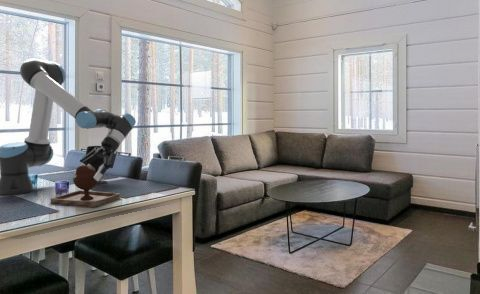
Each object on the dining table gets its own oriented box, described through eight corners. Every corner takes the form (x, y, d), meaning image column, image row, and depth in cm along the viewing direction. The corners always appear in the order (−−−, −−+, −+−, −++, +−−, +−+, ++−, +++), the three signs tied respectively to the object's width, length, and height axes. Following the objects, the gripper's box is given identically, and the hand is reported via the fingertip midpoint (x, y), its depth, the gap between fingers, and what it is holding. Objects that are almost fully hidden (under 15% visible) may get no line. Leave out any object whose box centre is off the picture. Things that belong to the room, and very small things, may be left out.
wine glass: (100, 185, 200) (99, 147, 198) (82, 184, 202) (81, 147, 200) (110, 181, 210) (109, 146, 208) (93, 180, 212) (92, 145, 210)
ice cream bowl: (84, 203, 158) (83, 167, 156) (68, 199, 163) (67, 165, 162) (105, 198, 167) (104, 165, 165) (88, 195, 172) (88, 162, 171)
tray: (50, 203, 160) (50, 198, 159) (79, 194, 177) (79, 190, 177) (94, 207, 153) (94, 202, 153) (120, 198, 171) (120, 193, 170)
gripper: (136, 148, 171) (109, 186, 159) (100, 144, 184) (73, 179, 172) (126, 137, 166) (98, 175, 154) (90, 134, 179) (62, 169, 167)
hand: (85, 177), depth 163 cm, fingers open, 13 cm apart
